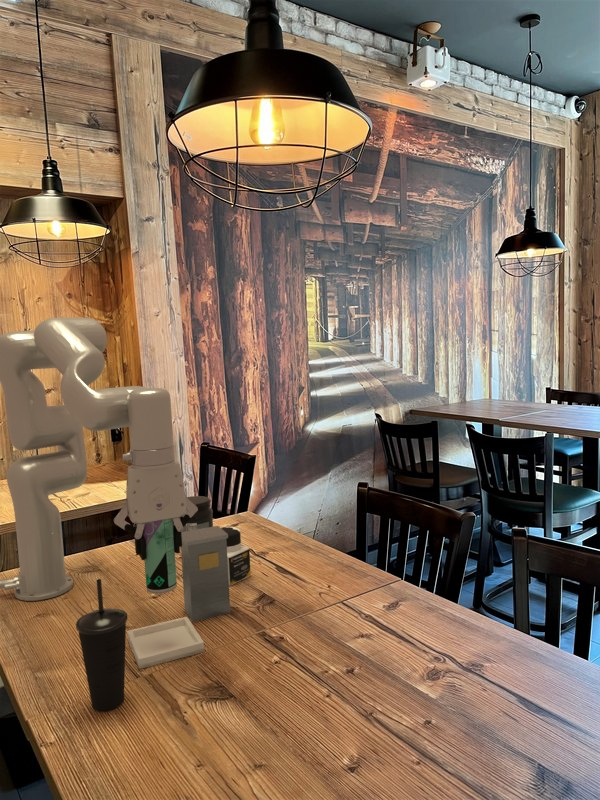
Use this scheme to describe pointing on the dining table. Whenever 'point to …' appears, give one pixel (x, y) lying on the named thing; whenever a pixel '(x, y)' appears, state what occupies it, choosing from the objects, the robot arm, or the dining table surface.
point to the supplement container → (200, 514)
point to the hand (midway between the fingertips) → (159, 553)
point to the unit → (205, 573)
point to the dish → (164, 642)
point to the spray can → (160, 556)
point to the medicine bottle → (236, 556)
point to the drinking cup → (104, 653)
